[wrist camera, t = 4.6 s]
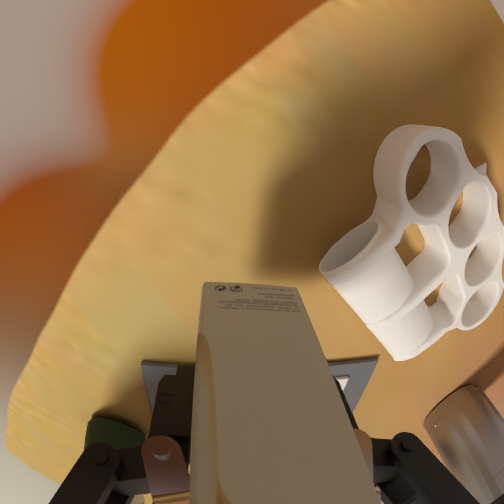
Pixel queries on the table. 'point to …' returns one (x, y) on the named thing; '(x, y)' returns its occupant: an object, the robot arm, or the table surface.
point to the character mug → (114, 439)
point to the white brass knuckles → (434, 252)
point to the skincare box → (268, 406)
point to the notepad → (346, 372)
